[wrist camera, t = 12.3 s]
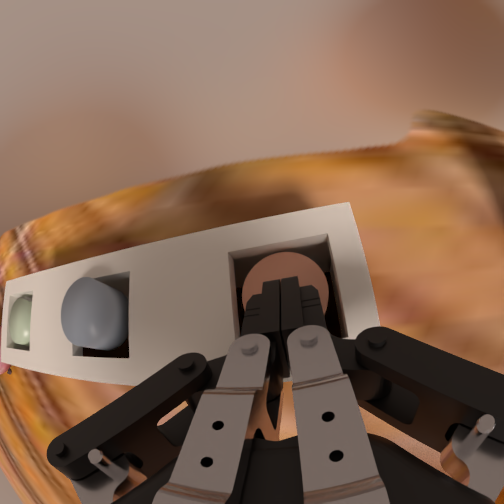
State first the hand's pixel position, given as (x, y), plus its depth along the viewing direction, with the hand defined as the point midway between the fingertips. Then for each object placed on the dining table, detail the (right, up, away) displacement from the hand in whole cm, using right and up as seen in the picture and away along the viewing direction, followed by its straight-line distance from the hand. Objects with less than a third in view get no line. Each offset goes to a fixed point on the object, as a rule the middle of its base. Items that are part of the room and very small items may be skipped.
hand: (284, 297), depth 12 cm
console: (-9, -5, +10) cm, 14 cm away
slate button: (-10, -2, +3) cm, 11 cm away
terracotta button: (+1, -1, +3) cm, 3 cm away
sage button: (-21, -5, +6) cm, 22 cm away
